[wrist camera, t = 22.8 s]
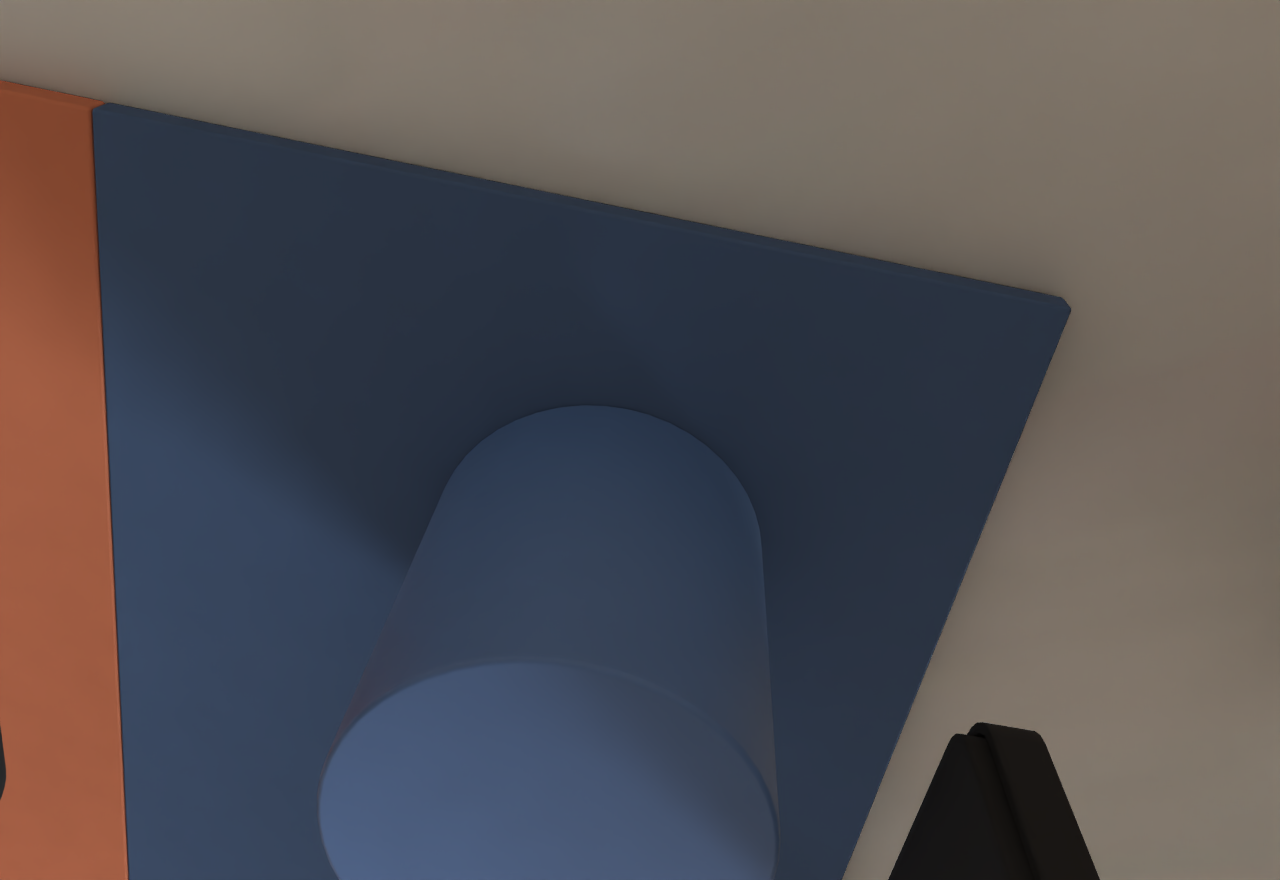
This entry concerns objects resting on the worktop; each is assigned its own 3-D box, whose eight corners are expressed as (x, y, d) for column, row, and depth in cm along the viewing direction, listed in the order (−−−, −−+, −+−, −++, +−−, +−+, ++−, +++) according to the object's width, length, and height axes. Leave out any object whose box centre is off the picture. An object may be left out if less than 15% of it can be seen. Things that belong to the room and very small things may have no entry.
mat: (-390, 1088, 23) (-407, 1107, 23) (-906, -107, 12) (-954, -107, 12) (676, 1273, 24) (675, 1294, 23) (1064, 297, 13) (1073, 308, 13)
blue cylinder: (421, 646, 16) (304, 953, 11) (453, 372, 14) (326, 614, 9) (721, 703, 16) (722, 1028, 11) (797, 440, 14) (836, 713, 9)
